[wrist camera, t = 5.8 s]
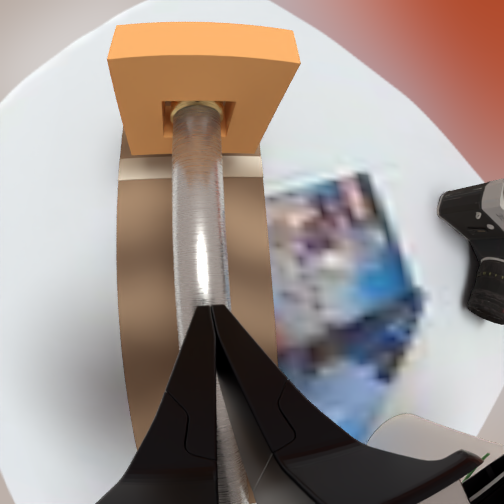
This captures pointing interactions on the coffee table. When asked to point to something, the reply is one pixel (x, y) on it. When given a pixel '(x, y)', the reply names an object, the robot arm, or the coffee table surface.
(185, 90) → the collar
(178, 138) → the pipe
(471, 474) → the cylindrical container
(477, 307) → the camera
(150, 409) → the stand
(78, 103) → the coffee table surface
